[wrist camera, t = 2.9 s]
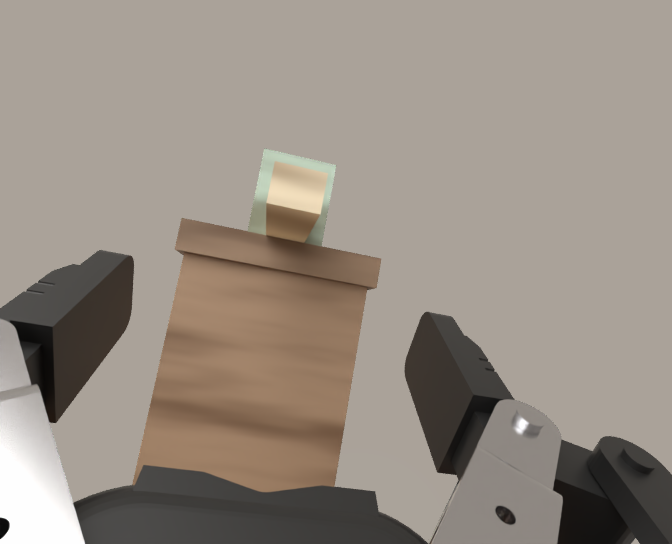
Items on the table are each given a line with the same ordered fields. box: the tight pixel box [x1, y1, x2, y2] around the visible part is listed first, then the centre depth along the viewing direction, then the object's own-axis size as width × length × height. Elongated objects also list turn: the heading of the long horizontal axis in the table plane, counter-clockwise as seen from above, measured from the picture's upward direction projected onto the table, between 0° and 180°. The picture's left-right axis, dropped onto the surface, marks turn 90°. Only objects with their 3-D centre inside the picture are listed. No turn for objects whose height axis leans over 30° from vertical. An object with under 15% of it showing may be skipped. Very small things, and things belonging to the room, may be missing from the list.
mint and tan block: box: [248, 149, 336, 246], centre depth 26 cm, size 14×5×6 cm, turn 10°
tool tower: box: [132, 218, 381, 492], centre depth 29 cm, size 9×13×32 cm
